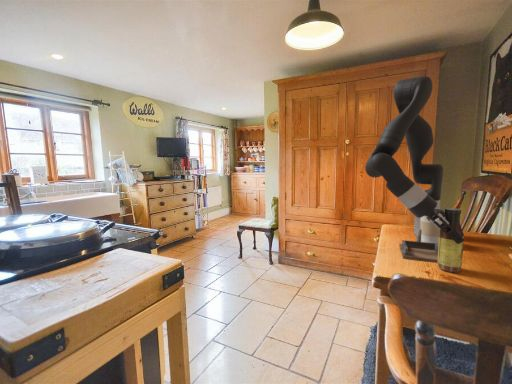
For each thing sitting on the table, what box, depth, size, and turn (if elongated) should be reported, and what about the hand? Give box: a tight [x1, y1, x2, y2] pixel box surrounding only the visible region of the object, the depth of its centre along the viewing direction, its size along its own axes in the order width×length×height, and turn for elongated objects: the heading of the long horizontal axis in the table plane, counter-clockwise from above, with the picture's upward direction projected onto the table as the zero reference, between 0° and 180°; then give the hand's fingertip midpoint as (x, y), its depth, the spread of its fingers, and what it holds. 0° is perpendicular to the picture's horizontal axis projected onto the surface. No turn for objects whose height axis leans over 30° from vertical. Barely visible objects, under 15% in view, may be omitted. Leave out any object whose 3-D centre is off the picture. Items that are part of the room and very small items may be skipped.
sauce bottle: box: [437, 207, 465, 273], centre depth 79 cm, size 7×6×20 cm
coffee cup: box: [420, 208, 445, 245], centre depth 104 cm, size 9×9×15 cm
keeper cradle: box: [398, 229, 439, 264], centre depth 94 cm, size 14×13×8 cm
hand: (457, 238), depth 79 cm, fingers closed on sauce bottle, 6 cm apart
